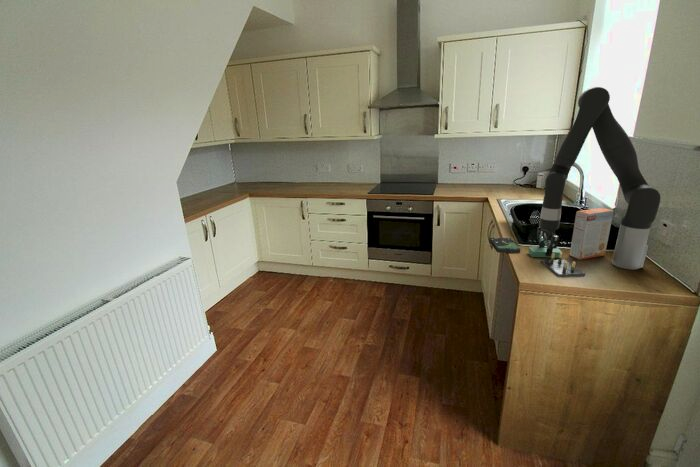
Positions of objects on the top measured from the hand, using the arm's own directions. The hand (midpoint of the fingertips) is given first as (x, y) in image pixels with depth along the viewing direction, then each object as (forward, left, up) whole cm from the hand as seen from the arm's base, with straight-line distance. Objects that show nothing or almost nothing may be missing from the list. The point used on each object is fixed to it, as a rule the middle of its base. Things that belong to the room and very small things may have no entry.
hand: (544, 253), depth 152 cm
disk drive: (+13, -12, -2) cm, 18 cm away
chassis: (0, +14, -1) cm, 14 cm away
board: (0, 0, -1) cm, 1 cm away
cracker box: (-18, +1, -1) cm, 18 cm away
